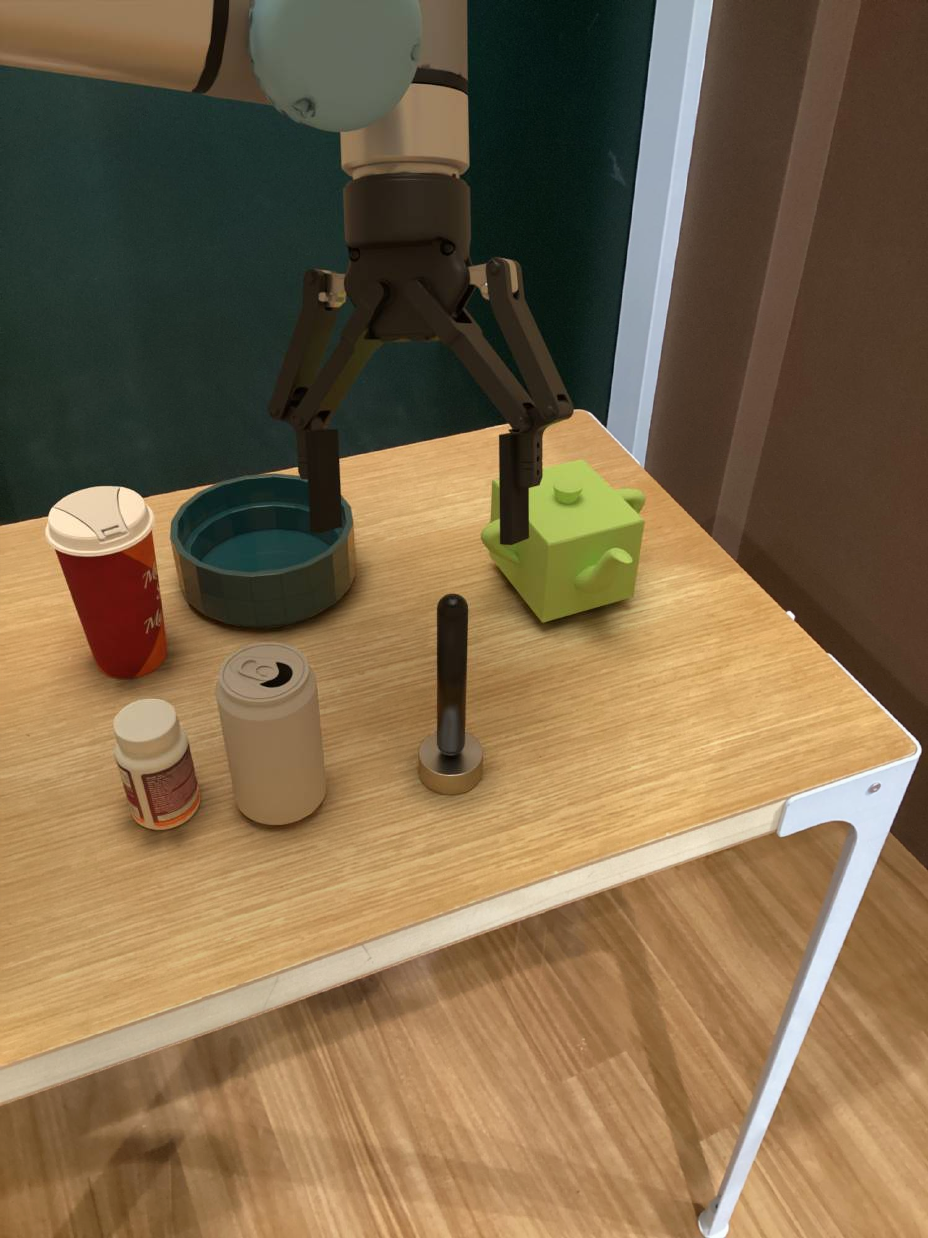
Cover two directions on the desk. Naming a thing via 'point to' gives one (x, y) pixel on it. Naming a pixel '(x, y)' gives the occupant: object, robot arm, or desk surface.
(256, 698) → the beverage can
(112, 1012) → the desk surface
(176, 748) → the pill bottle
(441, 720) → the rod on base
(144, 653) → the paper cup
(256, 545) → the bowl
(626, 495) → the teapot
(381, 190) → the robot arm
